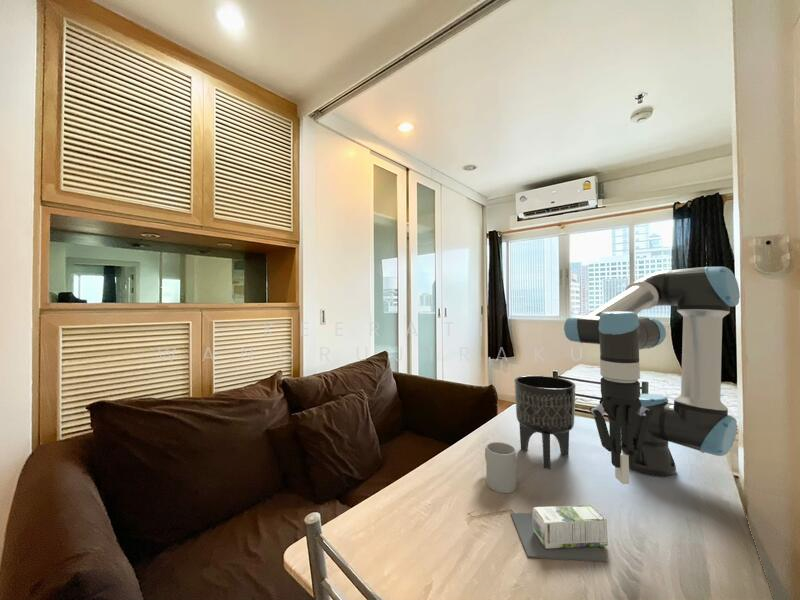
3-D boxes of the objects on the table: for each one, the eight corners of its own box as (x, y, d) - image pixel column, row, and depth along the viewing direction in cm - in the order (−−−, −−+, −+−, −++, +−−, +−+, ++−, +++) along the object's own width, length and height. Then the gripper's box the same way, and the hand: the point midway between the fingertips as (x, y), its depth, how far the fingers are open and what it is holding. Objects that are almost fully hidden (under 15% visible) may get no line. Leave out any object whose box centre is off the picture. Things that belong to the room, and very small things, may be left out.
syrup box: (591, 528, 76) (532, 532, 76) (590, 503, 77) (531, 506, 76) (608, 546, 71) (544, 550, 70) (607, 519, 71) (543, 522, 70)
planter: (581, 475, 100) (580, 391, 100) (515, 465, 107) (514, 386, 107) (571, 448, 119) (570, 377, 119) (515, 441, 125) (514, 373, 125)
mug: (522, 490, 93) (522, 452, 93) (497, 495, 90) (496, 456, 90) (497, 469, 104) (497, 435, 104) (474, 474, 102) (474, 439, 102)
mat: (575, 517, 81) (575, 515, 81) (606, 561, 67) (606, 559, 67) (510, 514, 82) (510, 512, 82) (527, 557, 68) (527, 555, 68)
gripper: (638, 374, 77) (641, 472, 77) (582, 374, 78) (584, 471, 78) (661, 382, 70) (664, 491, 70) (598, 383, 71) (601, 489, 71)
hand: (622, 480), depth 74 cm, fingers closed
